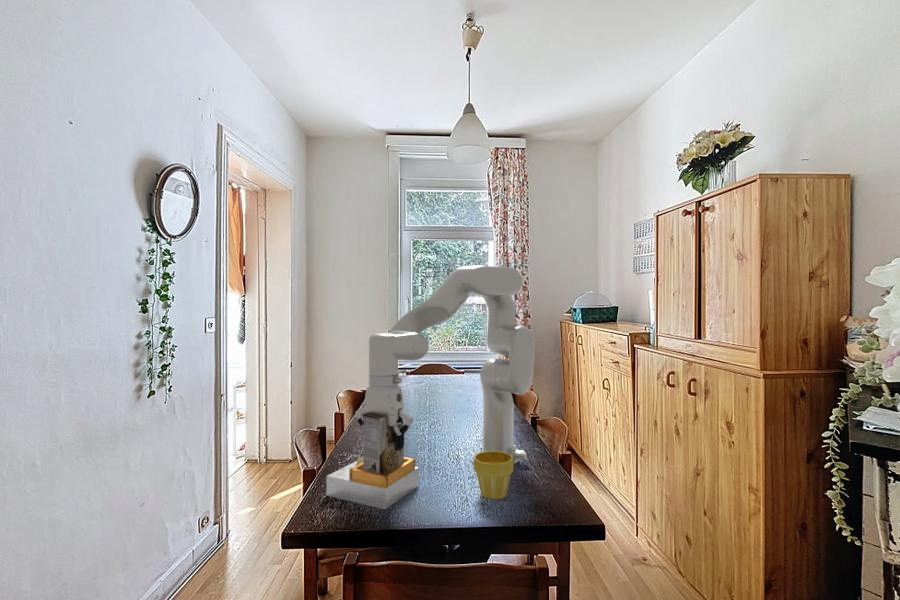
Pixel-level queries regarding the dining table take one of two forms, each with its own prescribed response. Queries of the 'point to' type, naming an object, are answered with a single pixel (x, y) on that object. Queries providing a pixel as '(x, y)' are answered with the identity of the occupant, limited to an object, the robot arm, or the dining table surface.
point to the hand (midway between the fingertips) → (383, 446)
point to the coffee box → (379, 445)
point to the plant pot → (493, 473)
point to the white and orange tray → (373, 484)
